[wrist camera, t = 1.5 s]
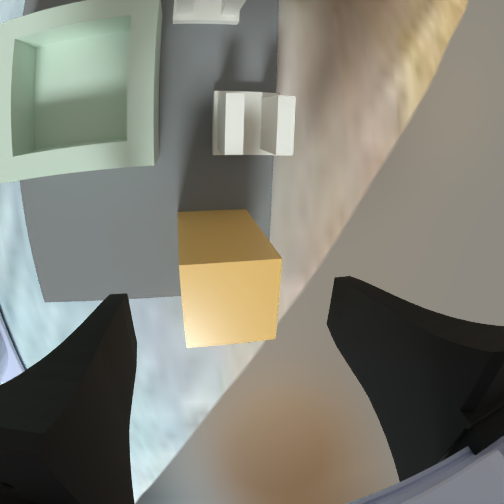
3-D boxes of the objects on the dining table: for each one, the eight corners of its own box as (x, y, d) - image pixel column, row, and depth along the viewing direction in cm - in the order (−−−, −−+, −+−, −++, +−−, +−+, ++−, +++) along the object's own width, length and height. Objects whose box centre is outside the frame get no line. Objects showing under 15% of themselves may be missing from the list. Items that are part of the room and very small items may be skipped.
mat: (47, 296, 16) (44, 302, 16) (33, -14, 9) (29, -17, 8) (263, 284, 19) (266, 289, 18) (275, -31, 12) (279, -35, 11)
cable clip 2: (211, 154, 15) (220, 162, 12) (213, 91, 14) (222, 84, 11) (273, 153, 15) (296, 163, 13) (275, 94, 14) (299, 89, 11)
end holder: (26, 170, 13) (-3, 184, 10) (27, 37, 10) (-2, 24, 7) (159, 155, 14) (154, 165, 11) (162, 15, 11) (159, -9, 9)
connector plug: (181, 274, 17) (186, 347, 12) (177, 212, 16) (178, 265, 10) (244, 270, 18) (275, 338, 12) (245, 209, 16) (282, 258, 11)
